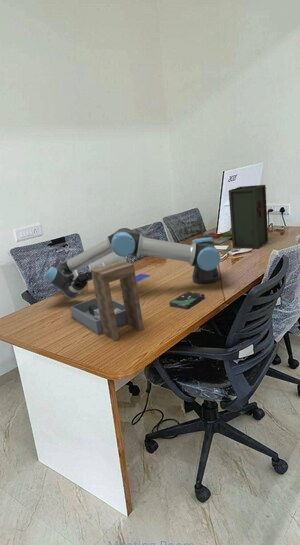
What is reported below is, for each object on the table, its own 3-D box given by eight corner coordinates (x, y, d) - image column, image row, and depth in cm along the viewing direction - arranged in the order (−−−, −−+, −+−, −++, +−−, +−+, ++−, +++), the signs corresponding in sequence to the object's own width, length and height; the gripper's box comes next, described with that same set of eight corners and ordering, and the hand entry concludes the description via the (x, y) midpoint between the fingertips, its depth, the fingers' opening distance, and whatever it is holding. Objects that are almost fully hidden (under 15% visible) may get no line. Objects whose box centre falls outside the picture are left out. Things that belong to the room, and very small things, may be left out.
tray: (72, 318, 177) (69, 306, 175) (105, 306, 186) (103, 294, 184) (98, 334, 155) (95, 321, 153) (134, 320, 164) (132, 307, 163)
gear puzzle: (244, 236, 293) (244, 230, 292) (234, 240, 282) (234, 235, 281) (210, 235, 313) (209, 230, 312) (199, 239, 302) (199, 235, 300)
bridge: (103, 333, 156) (90, 270, 148) (131, 322, 163) (120, 261, 155) (114, 340, 148) (102, 274, 140) (143, 328, 155) (133, 264, 147)
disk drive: (187, 296, 185) (169, 307, 174) (186, 291, 184) (168, 301, 173) (205, 299, 178) (187, 310, 167) (204, 293, 177) (187, 304, 167)
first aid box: (258, 248, 249) (254, 188, 238) (232, 248, 260) (228, 190, 249) (268, 242, 263) (265, 184, 251) (243, 241, 274) (239, 186, 263)
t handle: (81, 316, 175) (79, 308, 174) (103, 308, 181) (102, 300, 180) (99, 327, 159) (97, 319, 158) (123, 318, 165) (121, 310, 164)
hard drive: (135, 281, 215) (149, 274, 223) (125, 279, 220) (140, 273, 229) (136, 284, 215) (150, 277, 224) (126, 282, 220) (140, 275, 229)
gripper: (103, 282, 189) (117, 268, 171) (57, 298, 176) (67, 284, 158) (97, 269, 190) (111, 254, 172) (51, 283, 177) (61, 268, 159)
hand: (90, 268), depth 165 cm, fingers open, 13 cm apart
